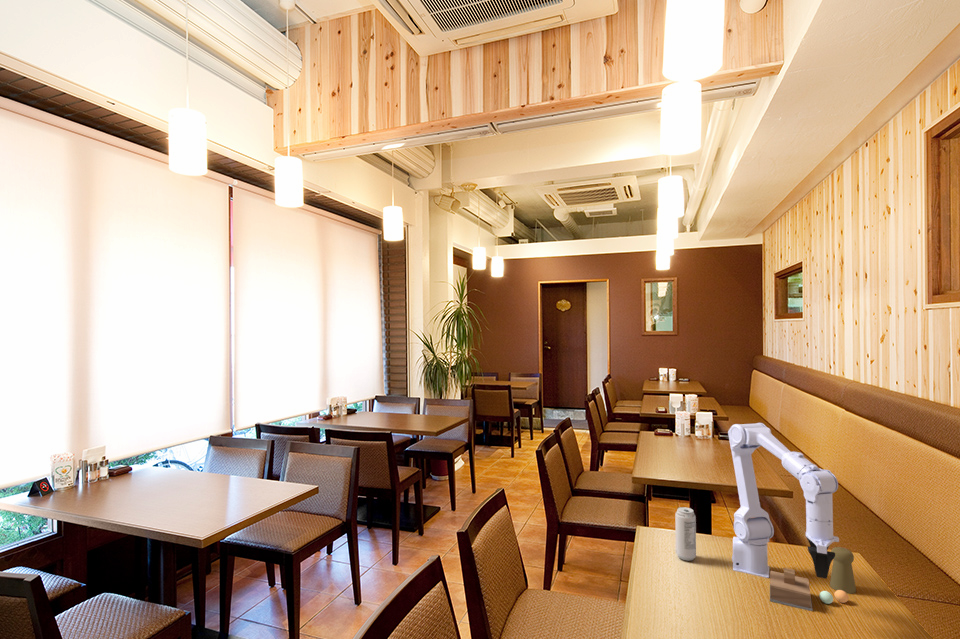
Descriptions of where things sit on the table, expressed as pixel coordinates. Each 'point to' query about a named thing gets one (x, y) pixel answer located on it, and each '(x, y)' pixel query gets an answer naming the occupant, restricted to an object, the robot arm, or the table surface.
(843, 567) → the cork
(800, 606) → the plate
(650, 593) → the table surface
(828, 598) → the mint ball
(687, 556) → the energy drink can
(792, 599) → the walnut cover
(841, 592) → the terracotta ball
